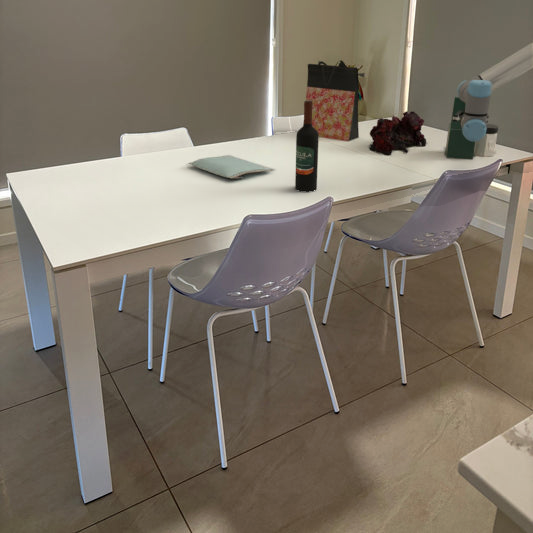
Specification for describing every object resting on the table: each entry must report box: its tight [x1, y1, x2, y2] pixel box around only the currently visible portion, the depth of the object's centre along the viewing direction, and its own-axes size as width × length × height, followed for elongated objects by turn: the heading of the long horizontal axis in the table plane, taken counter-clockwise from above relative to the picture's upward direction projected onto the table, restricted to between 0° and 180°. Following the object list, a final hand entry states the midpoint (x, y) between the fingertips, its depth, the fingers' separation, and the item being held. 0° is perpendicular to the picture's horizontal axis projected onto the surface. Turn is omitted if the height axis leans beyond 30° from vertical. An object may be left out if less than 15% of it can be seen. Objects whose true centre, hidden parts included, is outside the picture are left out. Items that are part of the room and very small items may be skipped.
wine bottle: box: [294, 100, 320, 193], centre depth 201 cm, size 8×8×30 cm
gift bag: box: [302, 59, 366, 142], centre depth 274 cm, size 29×14×35 cm, turn 53°
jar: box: [473, 123, 499, 158], centre depth 248 cm, size 9×8×12 cm
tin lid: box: [450, 96, 466, 129], centre depth 235 cm, size 13×11×1 cm
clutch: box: [188, 155, 273, 179], centre depth 228 cm, size 28×4×20 cm
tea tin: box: [445, 122, 476, 160], centre depth 247 cm, size 13×11×12 cm
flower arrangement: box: [368, 110, 427, 156], centre depth 259 cm, size 31×20×15 cm, turn 137°
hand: (467, 110), depth 232 cm, fingers closed
